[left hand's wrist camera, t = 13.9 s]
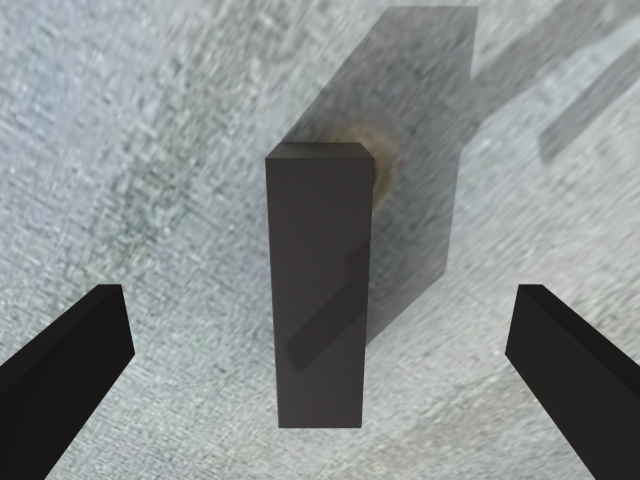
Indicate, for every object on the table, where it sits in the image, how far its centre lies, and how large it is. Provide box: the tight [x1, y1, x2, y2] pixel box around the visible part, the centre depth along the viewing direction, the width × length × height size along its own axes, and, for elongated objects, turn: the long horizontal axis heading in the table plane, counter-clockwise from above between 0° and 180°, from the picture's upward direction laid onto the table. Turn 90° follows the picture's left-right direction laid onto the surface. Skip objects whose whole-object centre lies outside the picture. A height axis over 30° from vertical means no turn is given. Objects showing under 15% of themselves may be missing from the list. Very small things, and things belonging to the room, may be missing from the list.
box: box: [265, 143, 374, 428], centre depth 33 cm, size 23×7×9 cm, turn 0°
